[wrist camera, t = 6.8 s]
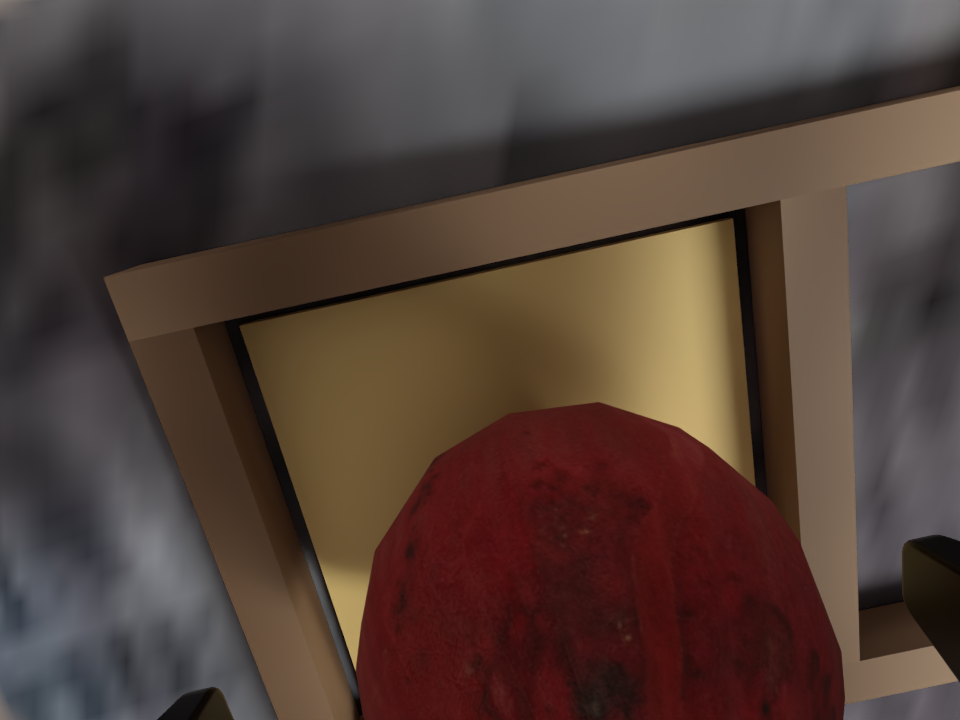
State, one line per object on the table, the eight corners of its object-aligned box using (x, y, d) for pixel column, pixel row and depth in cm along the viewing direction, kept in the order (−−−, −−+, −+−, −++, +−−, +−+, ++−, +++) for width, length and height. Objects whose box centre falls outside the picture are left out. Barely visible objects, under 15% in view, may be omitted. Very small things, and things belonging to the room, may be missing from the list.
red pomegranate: (356, 369, 11) (160, 846, 3) (686, 318, 11) (1238, 670, 3) (414, 642, 13) (374, 1364, 5) (699, 596, 13) (1081, 1242, 5)
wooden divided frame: (1411, -14, 10) (1533, -36, 9) (1287, 558, 14) (1364, 595, 12) (141, 264, 10) (103, 277, 9) (326, 760, 14) (316, 815, 13)
